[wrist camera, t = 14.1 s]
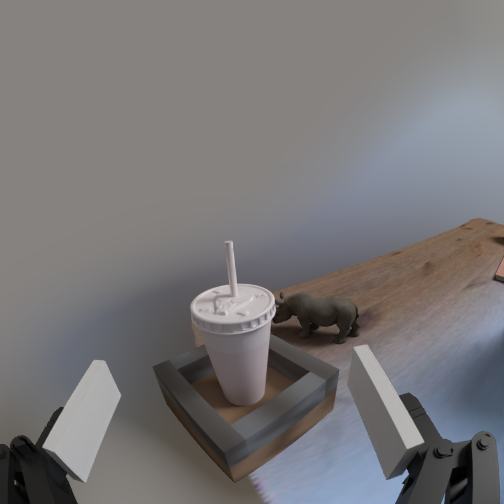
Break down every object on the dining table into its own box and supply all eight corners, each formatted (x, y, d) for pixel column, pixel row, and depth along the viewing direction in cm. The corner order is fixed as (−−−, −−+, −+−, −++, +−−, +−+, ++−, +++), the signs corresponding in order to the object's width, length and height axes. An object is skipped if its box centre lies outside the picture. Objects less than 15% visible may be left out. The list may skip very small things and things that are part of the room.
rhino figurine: (270, 317, 42) (268, 281, 40) (360, 330, 36) (364, 292, 34) (259, 331, 39) (255, 293, 37) (356, 347, 32) (361, 307, 30)
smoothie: (286, 374, 25) (281, 232, 21) (268, 423, 19) (255, 261, 15) (225, 365, 27) (205, 232, 23) (198, 407, 22) (160, 257, 17)
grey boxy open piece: (254, 359, 32) (251, 322, 31) (333, 408, 23) (339, 369, 22) (167, 404, 25) (152, 366, 24) (234, 482, 16) (224, 452, 15)
